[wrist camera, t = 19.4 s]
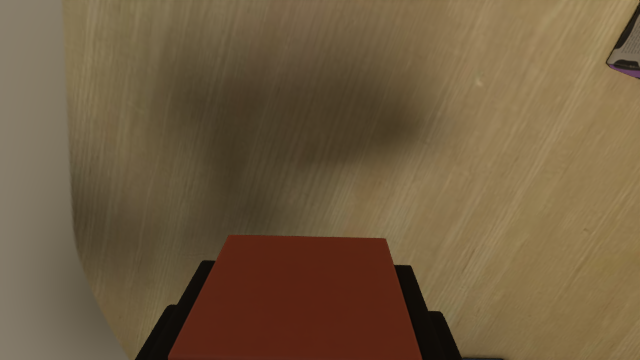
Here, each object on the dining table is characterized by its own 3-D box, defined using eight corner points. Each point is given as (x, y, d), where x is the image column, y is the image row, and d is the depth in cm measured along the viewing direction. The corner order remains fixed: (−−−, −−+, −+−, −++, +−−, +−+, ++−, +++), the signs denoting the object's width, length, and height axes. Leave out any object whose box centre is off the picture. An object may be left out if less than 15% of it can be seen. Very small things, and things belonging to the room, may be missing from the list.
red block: (237, 356, 12) (191, 520, 8) (227, 233, 11) (165, 357, 7) (375, 360, 12) (401, 526, 8) (386, 237, 11) (424, 363, 7)
